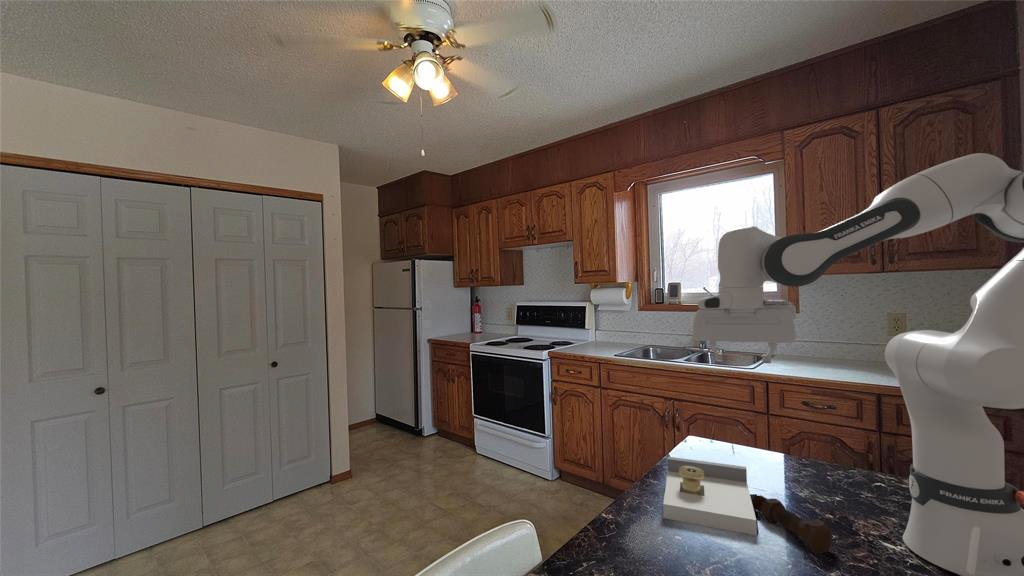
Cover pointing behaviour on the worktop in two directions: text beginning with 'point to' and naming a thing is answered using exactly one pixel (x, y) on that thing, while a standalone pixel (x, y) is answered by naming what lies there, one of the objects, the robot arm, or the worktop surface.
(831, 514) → the worktop surface
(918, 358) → the robot arm
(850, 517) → the worktop surface
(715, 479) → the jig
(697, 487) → the bushing
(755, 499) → the bolt
